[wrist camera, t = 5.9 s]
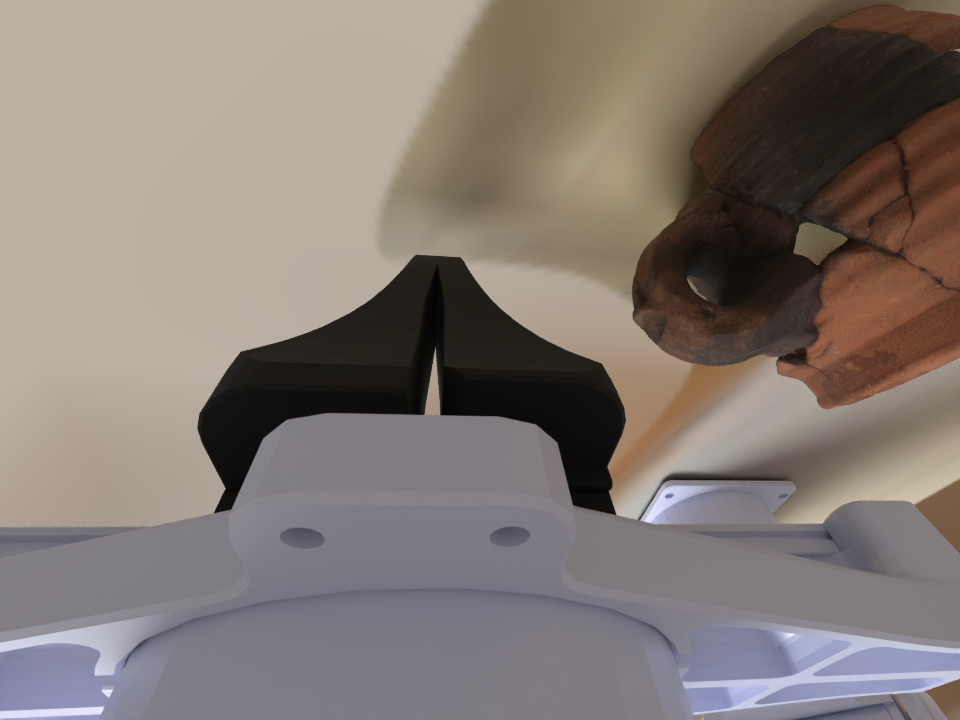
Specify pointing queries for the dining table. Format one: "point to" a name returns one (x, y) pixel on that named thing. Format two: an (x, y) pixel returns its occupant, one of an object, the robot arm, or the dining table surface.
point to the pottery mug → (824, 214)
